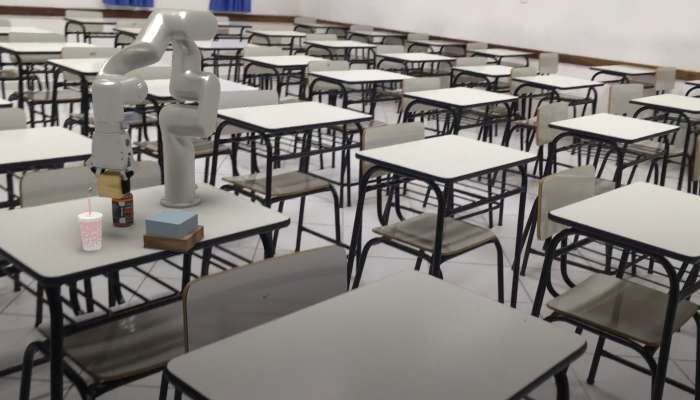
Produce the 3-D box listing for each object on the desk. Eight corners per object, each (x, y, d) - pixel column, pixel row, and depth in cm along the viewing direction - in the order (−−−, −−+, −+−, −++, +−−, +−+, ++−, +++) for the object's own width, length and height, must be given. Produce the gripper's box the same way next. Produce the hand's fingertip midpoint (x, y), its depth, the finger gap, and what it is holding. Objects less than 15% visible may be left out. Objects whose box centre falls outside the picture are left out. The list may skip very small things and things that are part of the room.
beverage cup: (95, 241, 186) (92, 192, 182) (109, 247, 183) (106, 196, 179) (75, 247, 182) (71, 196, 178) (89, 253, 178) (85, 201, 174)
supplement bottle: (127, 228, 198) (125, 190, 195) (108, 225, 199) (106, 187, 196) (138, 221, 203) (136, 184, 200) (119, 219, 205) (117, 182, 201)
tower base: (163, 234, 196) (163, 221, 194) (203, 239, 194) (203, 225, 192) (143, 249, 184) (143, 235, 183) (186, 254, 182) (186, 240, 181)
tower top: (165, 222, 194) (165, 208, 192) (198, 227, 191) (197, 213, 190) (145, 233, 184) (145, 219, 183) (179, 238, 182) (179, 224, 181)
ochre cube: (110, 190, 192) (108, 169, 190) (130, 192, 191) (129, 171, 189) (98, 196, 186) (97, 175, 184) (119, 198, 185) (118, 177, 183)
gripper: (146, 126, 185) (150, 190, 190) (87, 121, 187) (92, 185, 193) (133, 132, 178) (137, 199, 183) (71, 127, 180) (77, 193, 186)
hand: (114, 191), depth 188 cm, fingers closed on ochre cube, 6 cm apart
